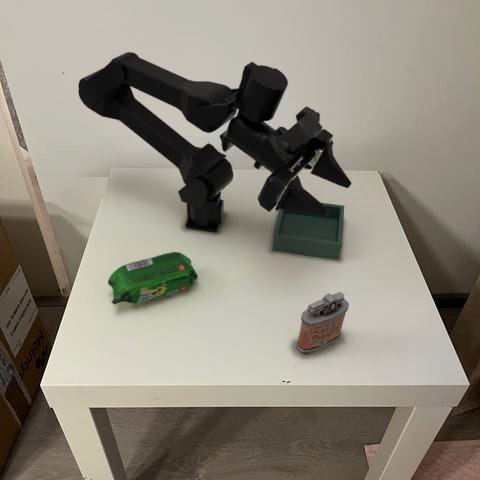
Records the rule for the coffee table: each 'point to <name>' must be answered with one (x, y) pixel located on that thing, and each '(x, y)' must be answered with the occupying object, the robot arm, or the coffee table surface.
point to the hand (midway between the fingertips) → (338, 199)
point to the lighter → (322, 323)
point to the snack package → (152, 278)
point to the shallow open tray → (310, 232)
